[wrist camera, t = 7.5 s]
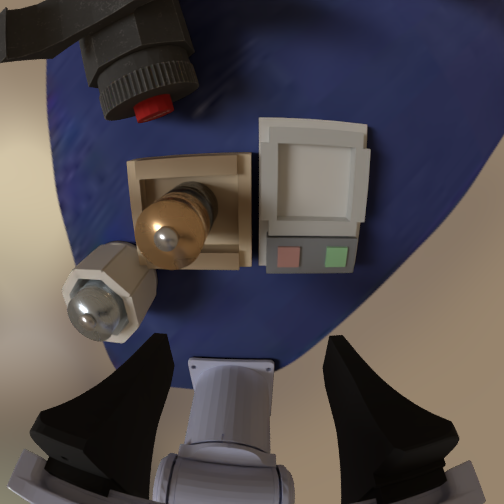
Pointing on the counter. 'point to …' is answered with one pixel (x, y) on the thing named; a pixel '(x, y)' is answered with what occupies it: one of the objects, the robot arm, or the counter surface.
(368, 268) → the counter surface
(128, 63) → the laser sight
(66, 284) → the cup
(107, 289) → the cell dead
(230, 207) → the tan square tray
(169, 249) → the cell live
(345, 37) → the counter surface
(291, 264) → the cradle
